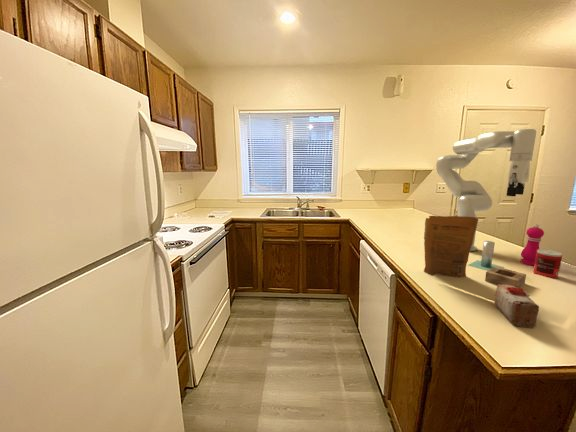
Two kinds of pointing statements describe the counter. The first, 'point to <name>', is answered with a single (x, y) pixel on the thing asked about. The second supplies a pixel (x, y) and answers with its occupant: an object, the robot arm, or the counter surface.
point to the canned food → (547, 263)
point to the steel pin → (487, 254)
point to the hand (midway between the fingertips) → (514, 195)
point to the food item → (516, 306)
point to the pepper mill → (532, 245)
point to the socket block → (505, 277)
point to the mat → (478, 265)
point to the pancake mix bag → (448, 244)
